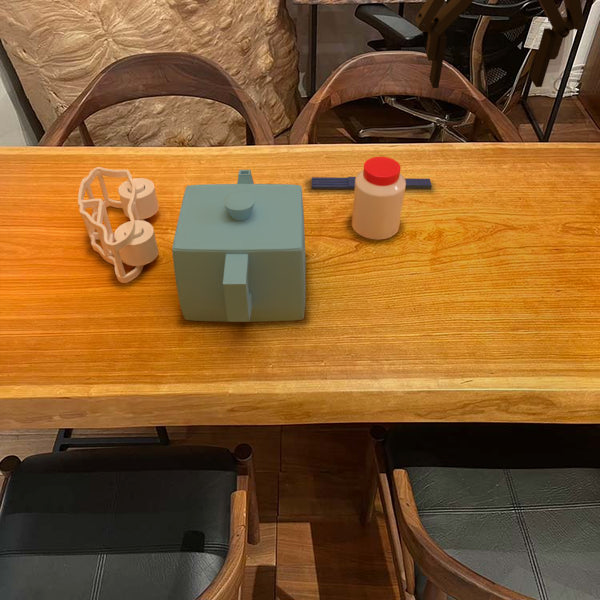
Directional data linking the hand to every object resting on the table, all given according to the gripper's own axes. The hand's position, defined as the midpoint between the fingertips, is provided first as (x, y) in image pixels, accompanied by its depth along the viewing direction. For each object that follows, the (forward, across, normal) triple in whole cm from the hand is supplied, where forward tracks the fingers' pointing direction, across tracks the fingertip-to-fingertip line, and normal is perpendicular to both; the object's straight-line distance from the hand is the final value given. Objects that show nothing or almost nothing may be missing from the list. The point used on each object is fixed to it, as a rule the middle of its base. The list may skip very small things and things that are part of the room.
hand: (484, 83), depth 78 cm
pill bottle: (+24, +12, 0) cm, 27 cm away
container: (+24, +33, +13) cm, 42 cm away
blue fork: (+24, +12, -11) cm, 29 cm away
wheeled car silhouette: (+24, +52, +3) cm, 58 cm away
